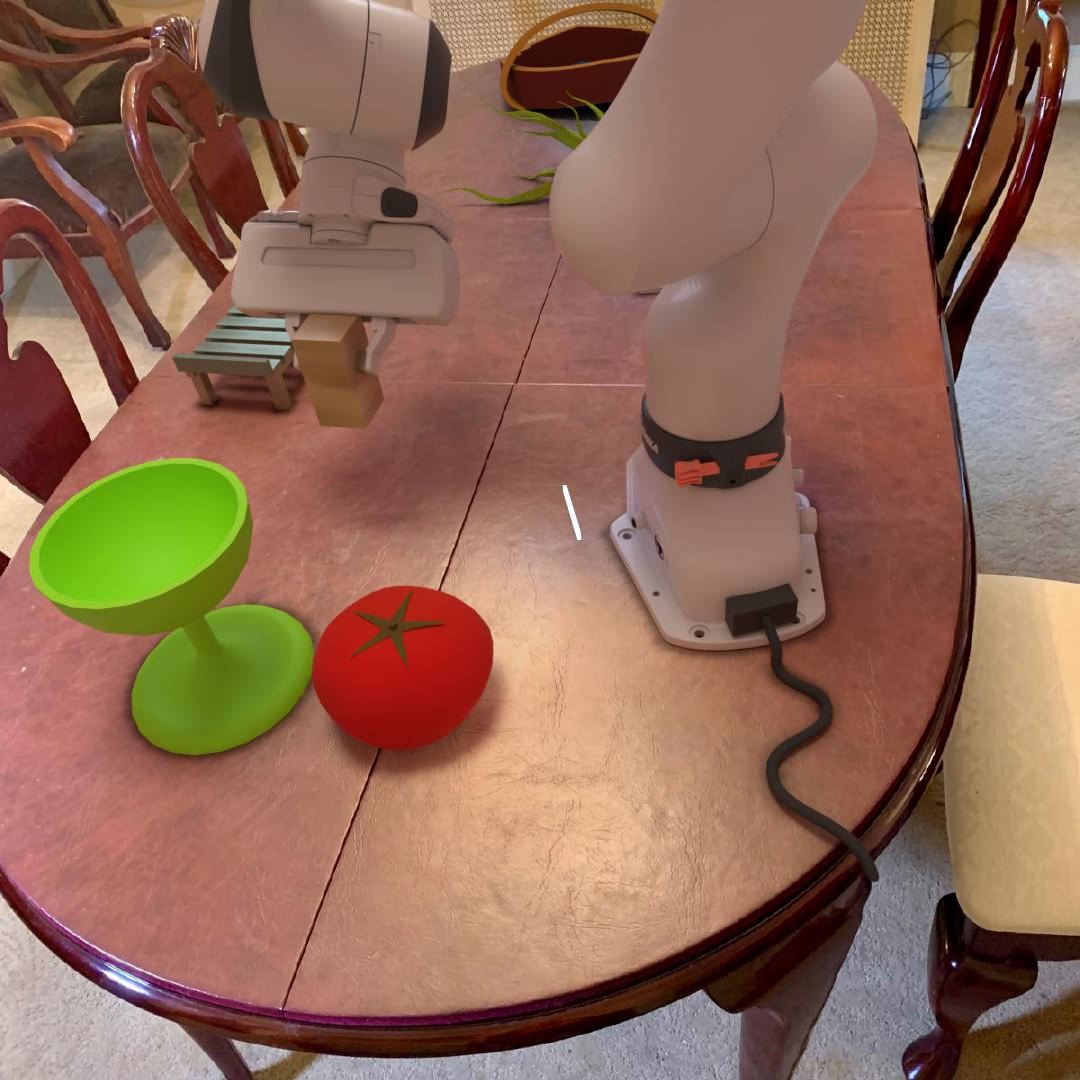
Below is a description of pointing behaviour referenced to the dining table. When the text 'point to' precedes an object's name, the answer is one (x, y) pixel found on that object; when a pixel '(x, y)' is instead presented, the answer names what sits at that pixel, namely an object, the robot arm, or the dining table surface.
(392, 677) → the tomato
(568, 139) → the decorative plant
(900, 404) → the dining table surface
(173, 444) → the dining table surface
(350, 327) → the block
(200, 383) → the rack
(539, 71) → the decorative basket
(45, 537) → the wineglass
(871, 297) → the dining table surface
